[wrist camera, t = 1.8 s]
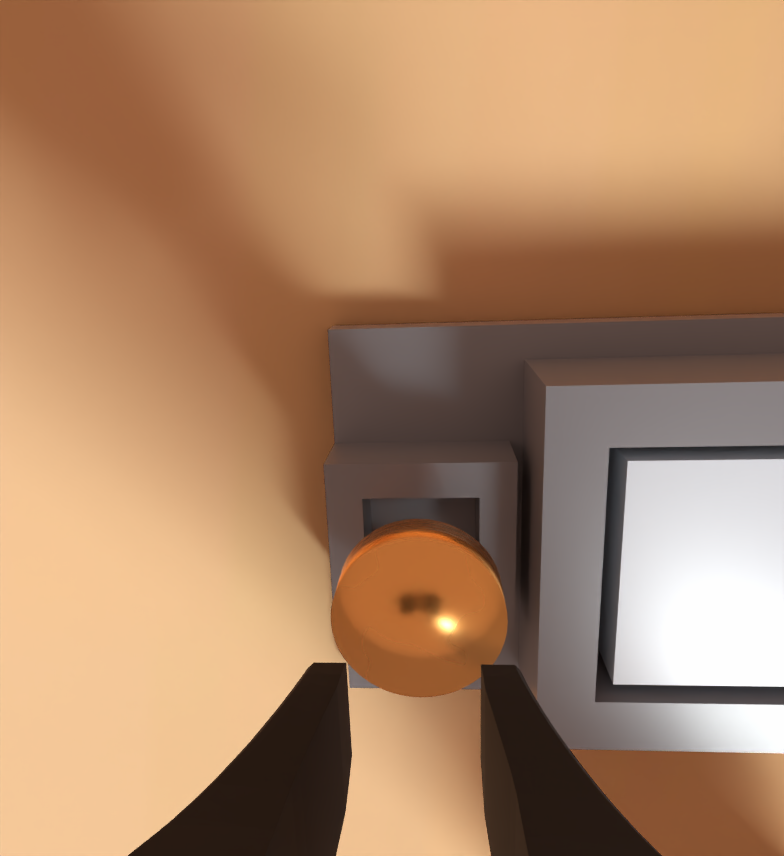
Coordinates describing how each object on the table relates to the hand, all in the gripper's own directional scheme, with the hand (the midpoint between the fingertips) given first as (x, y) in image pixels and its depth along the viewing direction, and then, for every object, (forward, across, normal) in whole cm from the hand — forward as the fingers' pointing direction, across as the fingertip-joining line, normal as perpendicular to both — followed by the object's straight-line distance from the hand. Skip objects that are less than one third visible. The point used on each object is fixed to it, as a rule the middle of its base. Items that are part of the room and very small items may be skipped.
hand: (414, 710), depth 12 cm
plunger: (+6, 0, 0) cm, 6 cm away
